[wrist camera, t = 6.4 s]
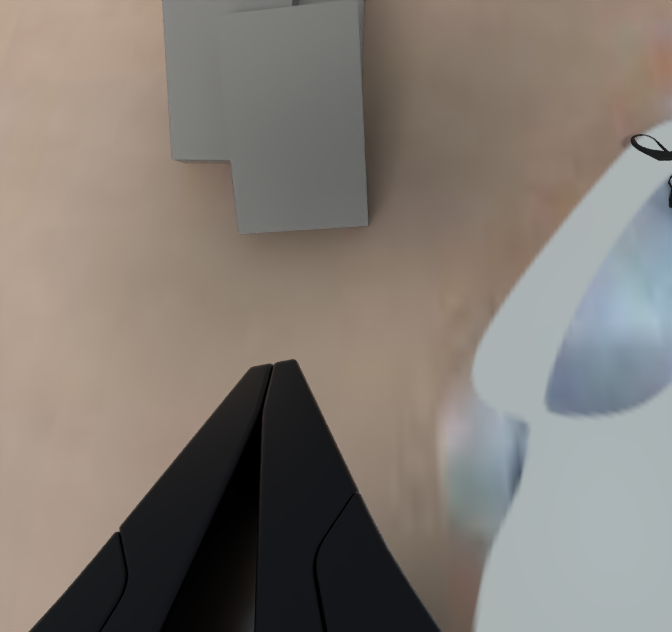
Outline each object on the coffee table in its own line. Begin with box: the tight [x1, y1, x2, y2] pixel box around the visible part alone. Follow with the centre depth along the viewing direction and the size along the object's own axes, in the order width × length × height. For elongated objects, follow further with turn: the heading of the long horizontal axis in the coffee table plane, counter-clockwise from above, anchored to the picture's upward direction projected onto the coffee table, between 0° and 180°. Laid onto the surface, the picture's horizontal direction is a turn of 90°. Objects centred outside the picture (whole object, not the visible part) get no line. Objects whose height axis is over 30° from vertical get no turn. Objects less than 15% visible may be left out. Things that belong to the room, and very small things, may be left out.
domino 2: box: [214, 0, 369, 234], centre depth 19 cm, size 1×6×9 cm
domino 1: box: [162, 0, 299, 163], centre depth 20 cm, size 1×6×9 cm
